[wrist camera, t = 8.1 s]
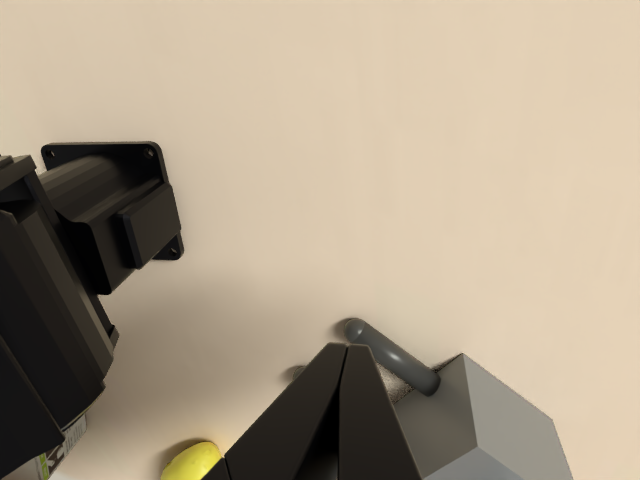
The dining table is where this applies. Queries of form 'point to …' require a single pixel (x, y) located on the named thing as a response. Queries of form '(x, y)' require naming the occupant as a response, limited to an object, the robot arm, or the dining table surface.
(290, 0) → the dining table surface
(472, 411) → the switch box
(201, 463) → the yellow oval piece
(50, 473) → the coffee box
